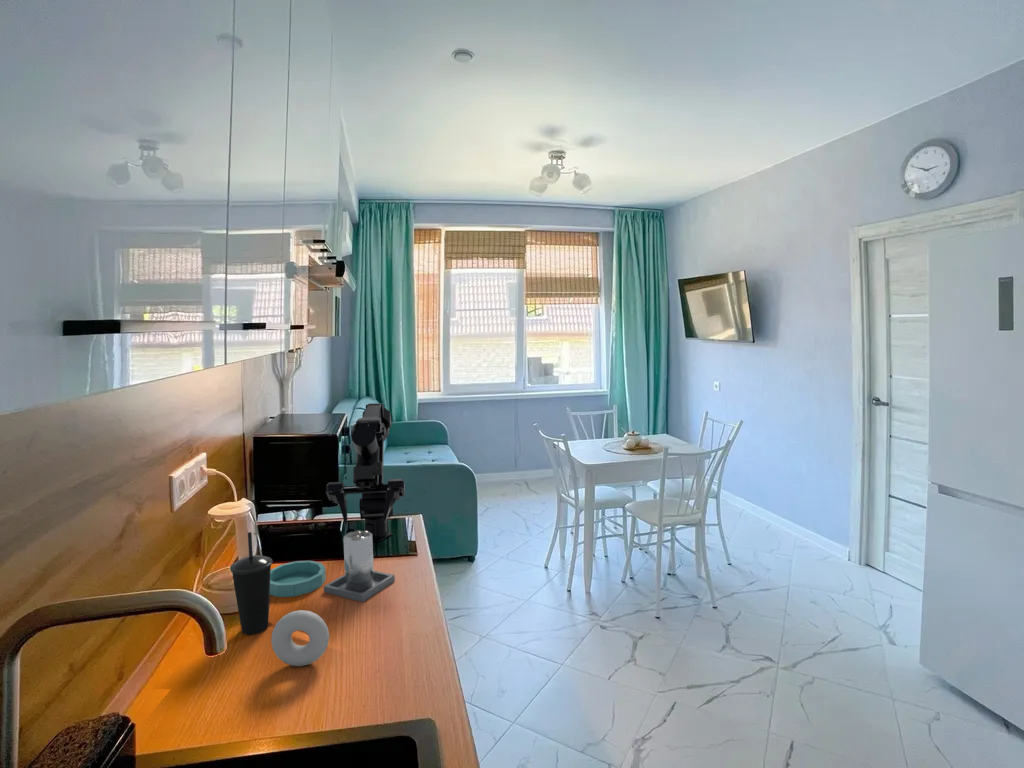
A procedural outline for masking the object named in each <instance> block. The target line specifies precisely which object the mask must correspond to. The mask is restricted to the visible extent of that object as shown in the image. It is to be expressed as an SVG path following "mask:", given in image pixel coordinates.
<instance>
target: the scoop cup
mask: <svg viewBox="0 0 1024 768" xmlns="http://www.w3.org/2000/svg"><path fill="white" fill-rule="evenodd" d="M373 542H374V541H373V539H372V533H371V532H369V531H365V530H360V529H358V530H355V531H352V530H351V531H350V532H348V533H346V534H345V535H344V536H343V556H344V557H343V559H344V560H343V562H344V574H345V584H346V590H350V591H354V592H358V593H360V592H365V591H367V590H368V589H370V588H371V587H373V586H374V571H375V569H374V566H375V565H374V564H375V563H374V550H373V549H374V543H373Z"/></svg>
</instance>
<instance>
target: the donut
mask: <svg viewBox="0 0 1024 768" xmlns="http://www.w3.org/2000/svg"><path fill="white" fill-rule="evenodd" d="M296 631H297V632H298V631H300V632H305V633H306V634H307V635H308V638H309V640H308V643H307V644H304V645H299V644H297V643H295V642H294V641H293V638H292V635H293V633H294V632H296ZM329 640H330V632H329V627H328V626H327V624H326V622H325V620H324V619H323V618H322V617H321V616H320V615H319V614H317V613H315V612H313V611H311V610H303V609H302V610H301V609H299V610H293V611H290V612H289V613H287V614H285V615H283V616H282V617H281V618H280V619H279V620H278V621H277V622H276V623H275V625H274V628H273V630H272V633H271V641H270V642H271V647H272V650H273V652H274V654H275V655H276V656H277V658H278V659H279V660H280V661H281V662H283V663H284V664H287V665H288V666H293V667H303V666H309V665H310V664H313V663H314V662H316V661H318V660H320V659H319V658H321V657H322V656H323V655H324V654H325V652H326V649H327V648H328V646H329Z"/></svg>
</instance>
